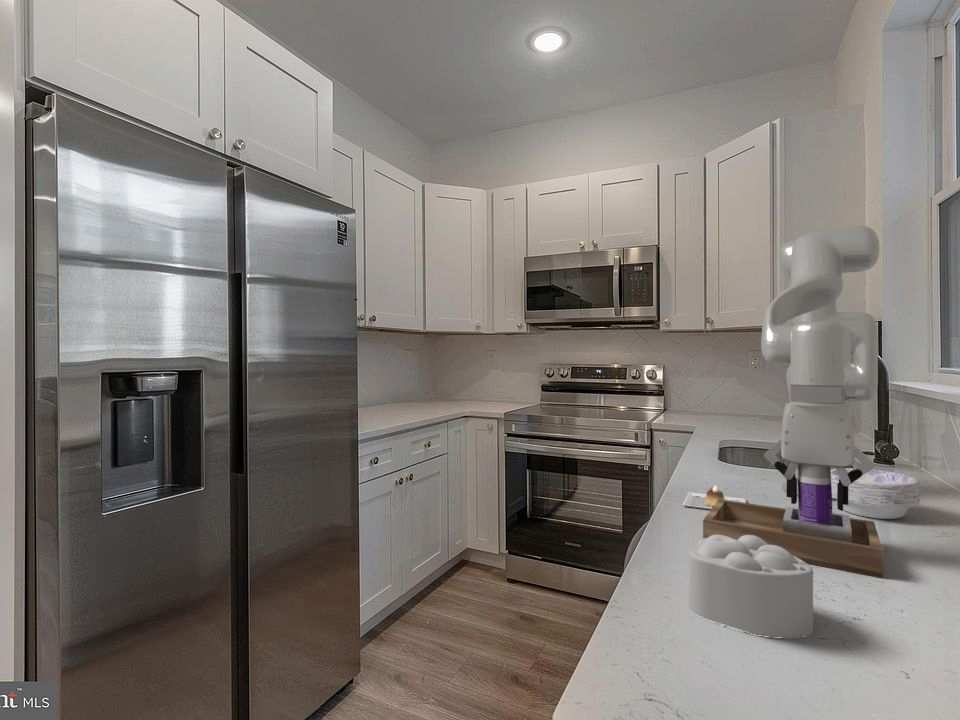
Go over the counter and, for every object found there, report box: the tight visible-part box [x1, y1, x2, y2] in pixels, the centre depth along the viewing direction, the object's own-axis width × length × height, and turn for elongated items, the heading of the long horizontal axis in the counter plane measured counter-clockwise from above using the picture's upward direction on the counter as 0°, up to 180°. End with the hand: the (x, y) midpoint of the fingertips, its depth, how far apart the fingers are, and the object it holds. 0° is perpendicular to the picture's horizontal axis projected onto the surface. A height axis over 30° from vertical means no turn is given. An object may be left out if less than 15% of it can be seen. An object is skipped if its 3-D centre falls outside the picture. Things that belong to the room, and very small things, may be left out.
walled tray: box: [702, 499, 884, 579], centre depth 86 cm, size 16×24×4 cm, turn 56°
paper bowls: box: [830, 467, 921, 520], centre depth 104 cm, size 15×15×8 cm
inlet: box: [783, 506, 852, 543], centre depth 83 cm, size 9×9×4 cm
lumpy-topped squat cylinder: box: [688, 535, 814, 639], centre depth 62 cm, size 10×13×9 cm
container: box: [797, 464, 833, 525], centre depth 84 cm, size 5×5×15 cm
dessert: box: [682, 484, 747, 511], centre depth 110 cm, size 12×12×5 cm
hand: (816, 504), depth 83 cm, fingers open, 5 cm apart
